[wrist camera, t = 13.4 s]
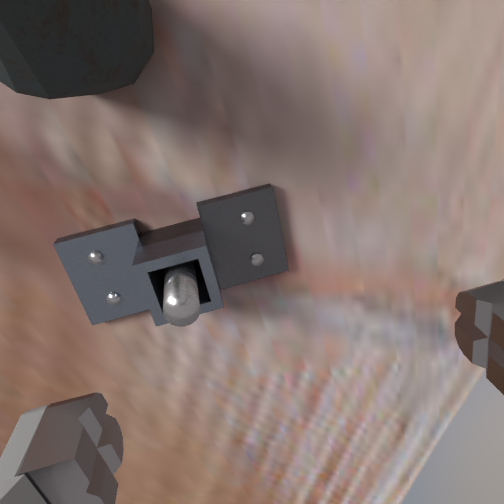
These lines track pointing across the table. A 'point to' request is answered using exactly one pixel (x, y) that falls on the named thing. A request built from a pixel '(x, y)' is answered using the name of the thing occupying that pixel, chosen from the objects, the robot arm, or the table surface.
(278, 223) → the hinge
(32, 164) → the table surface
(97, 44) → the bottle
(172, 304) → the pin
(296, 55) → the table surface
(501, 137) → the table surface
